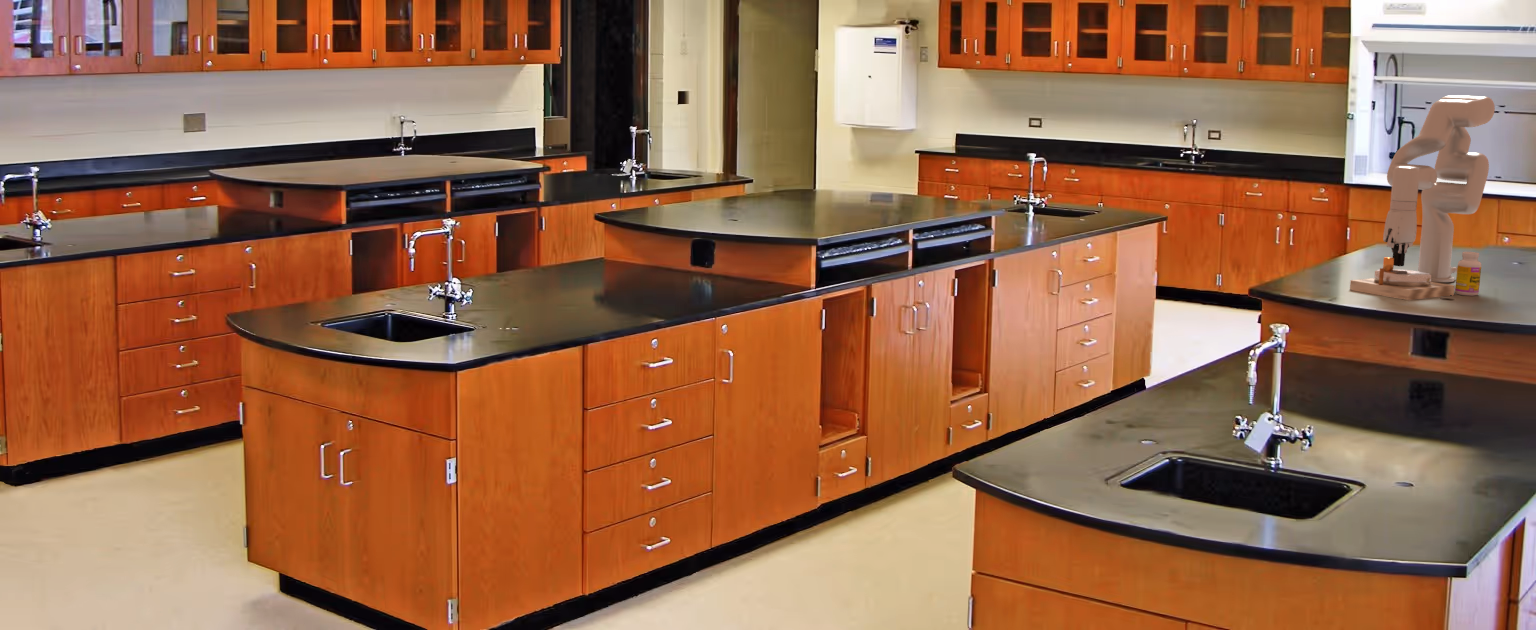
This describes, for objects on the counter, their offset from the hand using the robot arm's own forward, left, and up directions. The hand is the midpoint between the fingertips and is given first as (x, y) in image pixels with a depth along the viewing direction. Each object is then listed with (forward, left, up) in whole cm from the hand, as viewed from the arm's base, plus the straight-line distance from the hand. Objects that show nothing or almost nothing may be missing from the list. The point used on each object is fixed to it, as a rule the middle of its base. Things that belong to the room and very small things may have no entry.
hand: (1397, 265), depth 481 cm
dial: (+4, +5, -4) cm, 8 cm away
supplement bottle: (-12, +16, -8) cm, 21 cm away
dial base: (+4, +5, -7) cm, 10 cm away
